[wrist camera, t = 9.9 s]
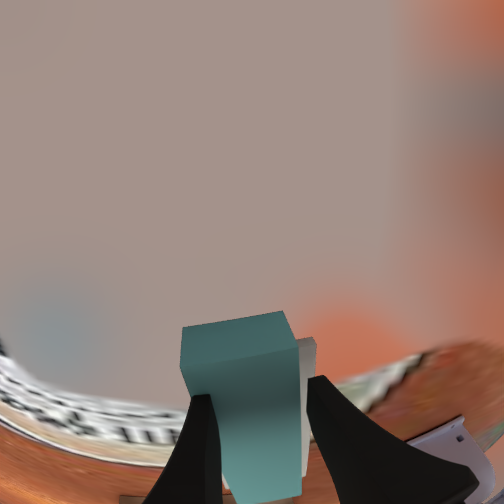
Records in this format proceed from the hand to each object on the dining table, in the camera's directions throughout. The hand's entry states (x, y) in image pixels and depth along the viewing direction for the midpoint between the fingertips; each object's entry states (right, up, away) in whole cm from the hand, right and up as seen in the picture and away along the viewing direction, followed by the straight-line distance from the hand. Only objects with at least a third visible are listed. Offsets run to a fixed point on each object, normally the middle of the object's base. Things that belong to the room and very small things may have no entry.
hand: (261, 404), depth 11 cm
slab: (0, -3, +4) cm, 5 cm away
